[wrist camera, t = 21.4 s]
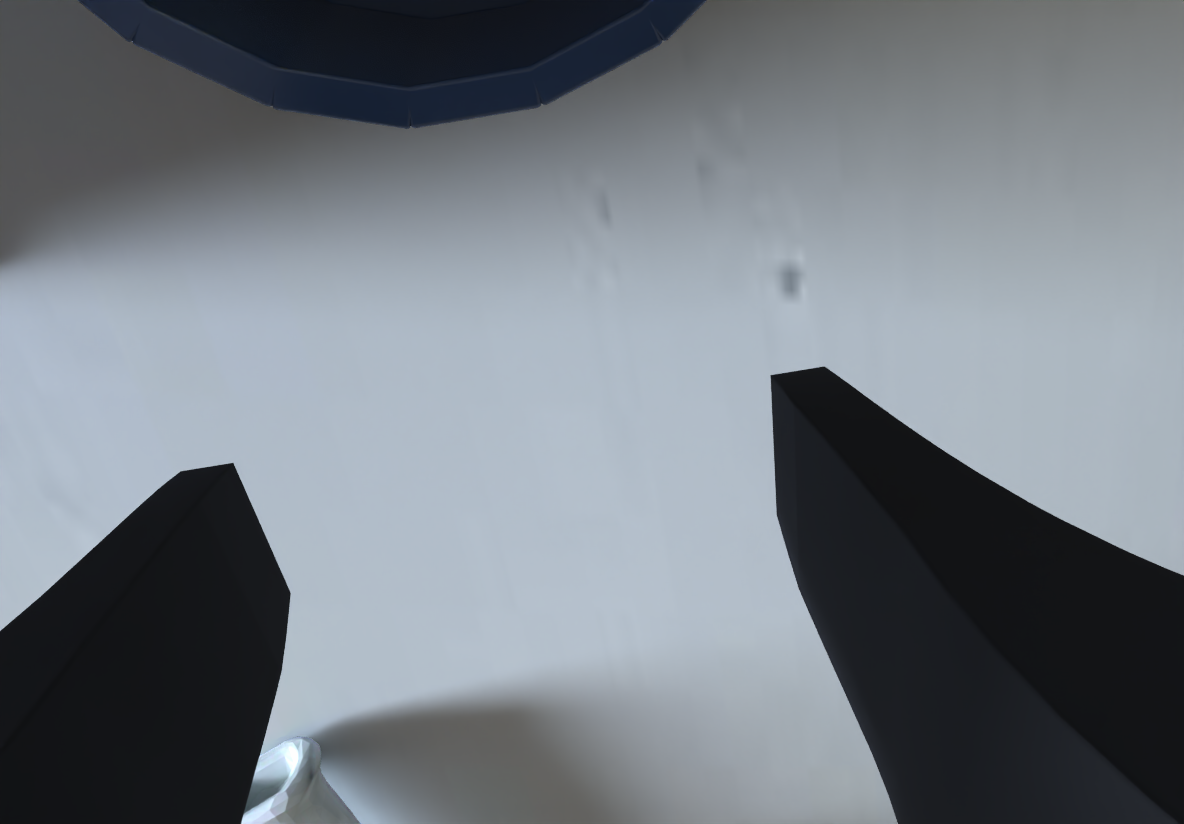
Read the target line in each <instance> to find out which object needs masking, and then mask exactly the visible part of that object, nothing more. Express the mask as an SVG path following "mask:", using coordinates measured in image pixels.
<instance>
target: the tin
mask: <svg viewBox="0 0 1184 824" xmlns="http://www.w3.org/2000/svg"><path fill="white" fill-rule="evenodd" d="M78 1H79V2H80V3H81V4H83V5H84V6H85V7H86V8H87V9H89V10H90V11H91V12H92V13H93V14H95V15H96V16H97V17H98V18H100V19H101V20H102V21H103V22H104V23H106V24H107V25H108V26H109V27H111V28H112V29H113V30H114V31H115V32H117V33H118V34H119V35H120V36H122V37H123V38H124V39H125V40H126V41H129V42H131V41H133V43H134V44H135V45H136V46H138V47H140V48H142V49H144V50H147V51H149V52H151V53H153V54H155V55H157V56H160V57H162V58H164V59H166V60H168V61H170V62H173V63H175V64H177V65H179V66H181V67H183V68H186V69H188V70H190V71H192V72H194V73H196V74H199V75H201V76H203V77H205V78H207V79H209V80H212V81H214V82H216V83H218V84H220V85H222V86H225V87H227V88H229V89H231V90H233V91H235V92H238V93H240V94H242V95H244V96H246V97H248V98H251V99H253V100H255V101H257V102H259V103H261V104H264V105H266V106H273V108H274V109H276V110H283V111H290V112H296V113H303V114H310V115H317V116H324V117H330V118H337V119H344V120H351V121H357V122H364V123H371V124H378V125H385V126H391V127H398V128H405V129H408V128H410V126H411V127H413V128H420V127H426V126H432V125H438V124H444V123H450V122H456V121H462V120H468V119H474V118H480V117H486V116H492V115H498V114H504V113H510V112H516V111H522V110H528V109H534V108H538V107H540V106H541V103H542V104H543V105H547V104H549V103H551V102H553V101H555V100H557V99H559V98H561V97H562V96H564V95H566V94H568V93H570V92H572V91H574V90H576V89H578V88H580V87H581V86H583V85H585V84H587V83H589V82H591V81H593V80H595V79H597V78H599V77H600V76H602V75H604V74H606V73H608V72H610V71H612V70H614V69H616V68H618V67H619V66H621V65H623V64H625V63H627V62H629V61H631V60H633V59H635V58H636V57H638V56H640V55H642V54H644V53H646V52H648V51H650V50H652V49H654V48H655V47H657V46H659V45H660V44H661V43H662V40H663V41H666V40H668V39H669V38H670V37H671V36H672V35H673V34H674V33H675V32H676V31H677V30H678V29H679V28H680V27H681V26H682V25H683V24H684V23H685V22H686V21H687V20H688V19H689V18H690V17H691V16H692V15H693V14H694V13H695V12H696V11H697V10H698V9H699V8H700V7H701V6H702V5H703V4H704V3H705V2H706V1H707V0H78Z"/></svg>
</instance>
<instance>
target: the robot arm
mask: <svg viewBox="0 0 1184 824" xmlns="http://www.w3.org/2000/svg"><path fill="white" fill-rule="evenodd" d="M771 392H772V415H773V438H774V461H775V484H776V507H777V517H778V521H779V524H780V527H781V531H782V534H783V538H784V541H785V545H786V548H787V551H788V555H789V558H790V561H791V565H792V568H793V571H794V574H795V578H796V581H797V584H798V587H799V590H800V592H801V595H802V597H803V599H804V602H805V604H806V606H807V609H808V611H809V613H810V615H811V618H812V620H813V622H814V624H815V627H816V629H817V631H818V634H819V636H820V638H821V640H822V643H823V645H824V647H825V649H826V652H827V654H828V656H829V658H830V661H831V663H832V665H833V667H834V669H835V672H836V674H837V676H838V678H839V681H840V683H841V685H842V687H843V690H844V692H845V694H846V696H847V698H848V701H849V703H850V705H851V707H852V710H853V712H854V714H855V716H856V719H857V721H858V723H859V725H860V728H861V730H862V732H863V734H864V736H865V739H866V741H867V743H868V745H869V748H870V750H871V752H872V754H873V757H874V759H875V762H876V764H877V767H878V769H879V772H880V775H881V777H882V780H883V782H884V785H885V787H886V790H887V792H888V795H889V798H890V801H891V804H892V807H893V810H894V813H895V816H896V819H897V822H898V824H1184V576H1183V575H1181V574H1178V573H1176V572H1173V571H1171V570H1168V569H1166V568H1164V567H1161V566H1159V565H1157V564H1154V563H1152V562H1150V561H1148V560H1145V559H1143V558H1141V557H1138V556H1136V555H1134V554H1132V553H1129V552H1127V551H1125V550H1123V549H1121V548H1119V547H1117V546H1114V545H1112V544H1110V543H1108V542H1106V541H1104V540H1102V539H1100V538H1098V537H1096V536H1094V535H1092V534H1090V533H1088V532H1086V531H1084V530H1082V529H1080V528H1077V527H1075V526H1073V525H1071V524H1069V523H1067V522H1065V521H1063V520H1061V519H1059V518H1057V517H1055V516H1053V515H1052V514H1050V513H1048V512H1046V511H1044V510H1042V509H1040V508H1038V507H1037V506H1035V505H1033V504H1031V503H1029V502H1027V501H1026V500H1024V499H1022V498H1021V497H1019V496H1017V495H1015V494H1014V493H1012V492H1010V491H1009V490H1007V489H1005V488H1003V487H1002V486H1000V485H998V484H997V483H995V482H993V481H991V480H990V479H988V478H986V477H985V476H983V475H981V474H979V473H978V472H976V471H975V470H973V469H971V468H970V467H968V466H967V465H965V464H963V463H962V462H960V461H959V460H957V459H956V458H954V457H952V456H951V455H949V454H948V453H946V452H945V451H943V450H942V449H940V448H939V447H937V446H936V445H934V444H933V443H931V442H930V441H928V440H927V439H925V438H924V437H922V436H921V435H919V434H918V433H916V432H915V431H913V430H912V429H911V428H909V427H908V426H906V425H905V424H903V423H902V422H901V421H899V420H898V419H896V418H895V417H894V416H892V415H891V414H889V413H888V412H887V411H885V410H884V409H882V408H881V407H880V406H878V405H877V404H875V403H874V402H873V401H871V400H870V399H869V398H867V397H866V396H864V395H863V394H862V393H860V392H859V391H858V390H856V389H855V388H854V387H852V386H851V385H850V384H848V383H847V382H845V381H844V380H843V379H841V378H840V377H839V376H837V375H836V374H834V373H833V372H832V371H830V370H829V369H827V368H826V367H819V368H813V369H806V370H800V371H794V372H788V373H782V374H776V375H771ZM290 594H291V593H290V591H289V588H288V586H287V584H286V582H285V579H284V577H283V575H282V573H281V570H280V568H279V566H278V564H277V561H276V559H275V557H274V554H273V552H272V550H271V548H270V545H269V543H268V541H267V539H266V536H265V534H264V532H263V529H262V527H261V525H260V523H259V520H258V518H257V516H256V514H255V511H254V509H253V507H252V505H251V502H250V500H249V498H248V495H247V493H246V491H245V489H244V486H243V484H242V482H241V480H240V477H239V475H238V473H237V471H236V468H235V466H234V464H233V463H230V464H224V465H217V466H211V467H205V468H199V469H193V470H187V471H181V472H180V473H178V474H177V475H176V476H174V477H173V478H172V479H170V480H169V481H168V482H167V483H165V484H164V485H163V486H162V487H160V488H159V489H158V490H157V491H156V492H155V493H154V494H152V495H151V496H150V497H149V498H148V499H147V500H146V501H144V502H143V503H142V504H141V505H140V506H139V507H138V508H137V509H136V510H134V511H133V512H132V513H131V514H130V515H129V516H128V517H127V518H126V519H125V520H124V521H122V522H121V523H120V524H119V525H118V526H117V527H116V528H115V529H114V530H113V531H112V532H111V533H110V534H108V535H107V536H106V537H105V538H104V539H103V540H102V541H101V542H100V543H99V544H98V545H97V546H95V547H94V548H93V549H92V550H91V551H90V552H89V553H88V554H87V555H86V556H85V557H83V558H82V559H81V560H80V561H79V562H78V563H77V564H76V565H75V566H74V567H73V568H71V569H70V570H69V571H68V572H67V573H66V574H65V575H64V576H63V577H62V578H61V579H59V580H58V581H57V582H56V583H55V584H54V585H53V586H52V587H51V588H50V589H49V590H47V591H46V592H45V593H44V594H43V595H42V596H41V597H40V598H38V599H37V600H36V601H35V602H34V603H33V604H31V605H30V606H29V607H28V608H27V609H26V610H24V611H23V612H22V613H21V614H20V615H19V616H17V617H16V618H15V619H14V620H13V621H12V622H10V623H9V624H8V625H7V626H6V627H5V628H3V629H2V630H1V631H0V824H241V822H242V818H243V815H244V811H245V807H246V804H247V800H248V796H249V793H250V789H251V785H252V781H253V778H254V774H255V770H256V767H257V763H258V759H259V756H260V752H261V748H262V745H263V741H264V737H265V734H266V730H267V726H268V722H269V718H270V715H271V711H272V707H273V703H274V699H275V695H276V692H277V687H278V683H279V679H280V675H281V671H282V664H283V656H284V649H285V642H286V634H287V624H288V614H289V604H290Z"/></svg>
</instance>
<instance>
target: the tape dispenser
mask: <svg viewBox="0 0 1184 824" xmlns="http://www.w3.org/2000/svg"><path fill="white" fill-rule="evenodd" d="M320 764H321V749H320V746H319V744H318V743H317V742H315V741H314V740H313V739H311V738H308V737H299V736H298V737H295V738H292V739H289V740H286V741H285V742H283V743H281V744H280V745H278V746H276V747H275V748H273V749H271V750H270V751H268V752H266V753H264V754H263V755H261V756H259V759H258V763H257V767H256V770H255V774H254V778H253V781H252V785H251V789H250V793H249V796H248V800H247V804H246V807H245V811H244V815H243V818H242V822H241V824H360V823H359V821H358V820H357V819H356V817H355V816H354V814H353V813H352V812H351V810H350V809H349V808H348V807H347V806H346V804H345V803H344V802H343V801H342V799H341V798H340V797H339V796H338V795H337V793H336V792H335V791H334V790H333V788H332V787H331V786H330V785H329V784H328V782H327V781H326V779H325V778H324V776H323V775H322V773H321V769H320Z"/></svg>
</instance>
